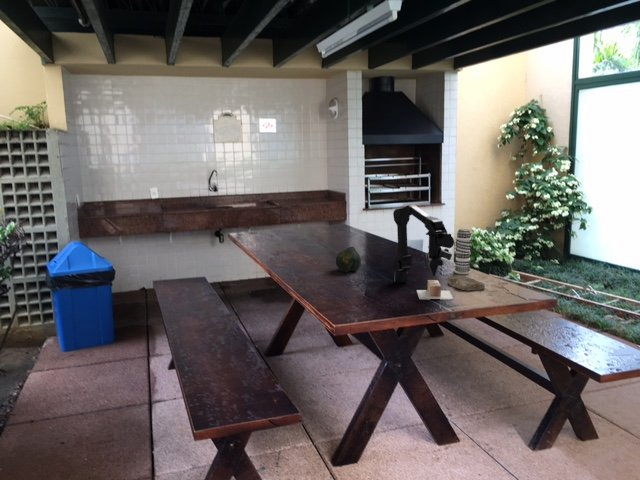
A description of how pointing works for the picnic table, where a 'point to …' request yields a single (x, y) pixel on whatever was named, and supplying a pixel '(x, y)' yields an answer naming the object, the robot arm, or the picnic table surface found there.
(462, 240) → the decorative candle
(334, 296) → the picnic table surface
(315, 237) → the picnic table surface
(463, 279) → the flat brown rock
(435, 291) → the birch block
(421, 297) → the white board
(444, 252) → the robot arm
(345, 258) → the squash
